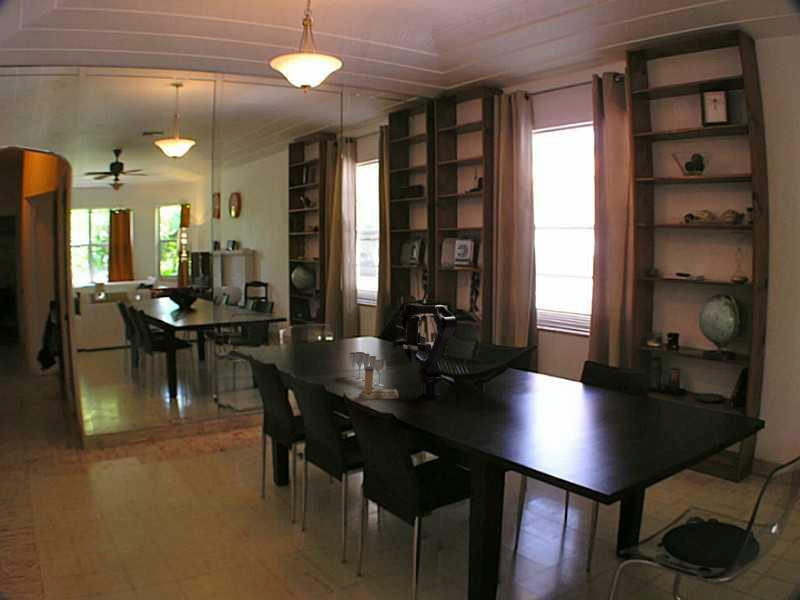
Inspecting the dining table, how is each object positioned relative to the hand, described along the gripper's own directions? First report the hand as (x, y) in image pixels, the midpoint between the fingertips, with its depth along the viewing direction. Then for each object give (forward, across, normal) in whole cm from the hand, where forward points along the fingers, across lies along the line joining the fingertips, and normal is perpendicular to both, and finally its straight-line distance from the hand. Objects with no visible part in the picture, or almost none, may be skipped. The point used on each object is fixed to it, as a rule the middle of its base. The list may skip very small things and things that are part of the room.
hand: (411, 363), depth 283 cm
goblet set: (+12, +26, +2) cm, 29 cm away
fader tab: (+10, +6, +24) cm, 27 cm away
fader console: (+12, +2, +20) cm, 24 cm away
